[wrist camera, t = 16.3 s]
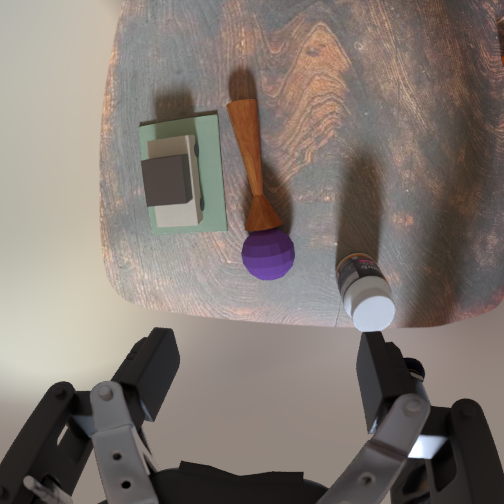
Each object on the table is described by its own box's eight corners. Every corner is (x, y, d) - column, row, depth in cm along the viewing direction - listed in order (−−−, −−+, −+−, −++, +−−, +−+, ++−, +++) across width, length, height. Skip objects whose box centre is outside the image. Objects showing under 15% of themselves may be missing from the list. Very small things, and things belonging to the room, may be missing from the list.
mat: (227, 230, 36) (227, 231, 36) (153, 233, 37) (152, 234, 37) (217, 114, 31) (217, 114, 30) (139, 126, 32) (138, 126, 31)
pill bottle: (384, 262, 35) (411, 303, 26) (361, 297, 38) (379, 343, 28) (349, 243, 35) (369, 281, 26) (326, 280, 37) (337, 326, 28)
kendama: (272, 92, 26) (303, 282, 31) (265, 104, 31) (292, 264, 37) (212, 102, 25) (248, 293, 31) (215, 113, 31) (245, 273, 37)
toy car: (156, 140, 32) (136, 142, 27) (197, 134, 31) (182, 135, 26) (166, 220, 36) (149, 234, 31) (206, 218, 35) (193, 232, 30)
